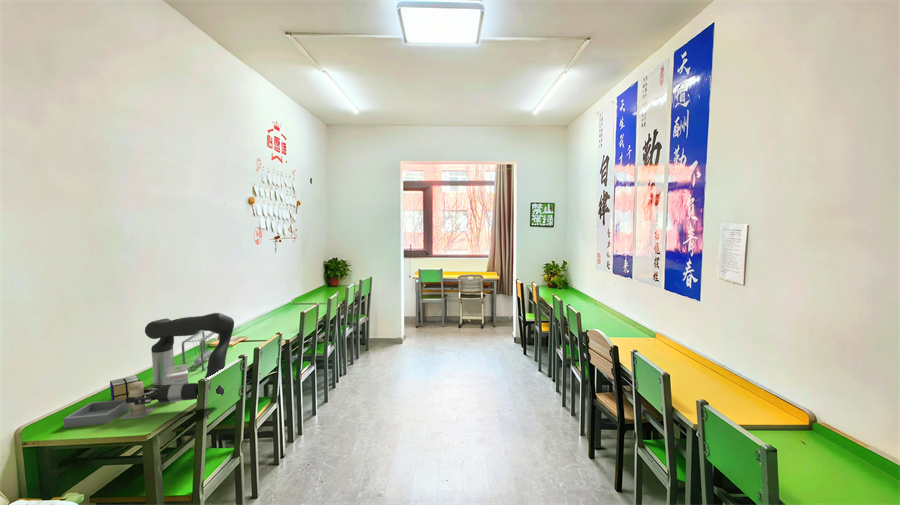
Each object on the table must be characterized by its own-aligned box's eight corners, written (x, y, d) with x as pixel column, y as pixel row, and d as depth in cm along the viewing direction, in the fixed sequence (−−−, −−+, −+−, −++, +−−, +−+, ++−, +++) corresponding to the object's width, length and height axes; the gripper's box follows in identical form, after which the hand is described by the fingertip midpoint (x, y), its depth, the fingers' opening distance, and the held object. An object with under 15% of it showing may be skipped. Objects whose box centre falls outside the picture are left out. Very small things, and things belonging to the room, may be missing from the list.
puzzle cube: (111, 401, 194) (109, 380, 193) (137, 395, 201) (136, 374, 200) (114, 407, 187) (112, 386, 186) (141, 400, 194) (139, 379, 193)
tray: (91, 411, 184) (90, 402, 183) (131, 407, 186) (130, 398, 186) (64, 428, 168) (63, 418, 168) (108, 424, 170) (107, 414, 170)
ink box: (168, 401, 192) (165, 370, 191) (168, 397, 196) (165, 367, 195) (189, 396, 197) (187, 366, 196) (189, 393, 201) (187, 363, 200)
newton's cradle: (203, 371, 232) (201, 340, 231) (183, 373, 231) (181, 342, 229) (222, 355, 262) (220, 328, 261) (204, 357, 260) (202, 329, 259)
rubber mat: (132, 410, 183) (132, 409, 183) (157, 407, 185) (157, 406, 185) (118, 420, 174) (118, 419, 174) (144, 417, 175) (144, 416, 175)
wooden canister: (135, 411, 181) (132, 382, 181) (147, 409, 182) (145, 381, 181) (128, 416, 176) (125, 386, 176) (141, 414, 177) (139, 385, 176)
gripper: (180, 378, 188) (140, 381, 185) (164, 390, 174) (121, 394, 171) (181, 394, 188) (142, 398, 186) (165, 408, 174) (122, 412, 172)
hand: (132, 396), depth 179 cm, fingers open, 8 cm apart
